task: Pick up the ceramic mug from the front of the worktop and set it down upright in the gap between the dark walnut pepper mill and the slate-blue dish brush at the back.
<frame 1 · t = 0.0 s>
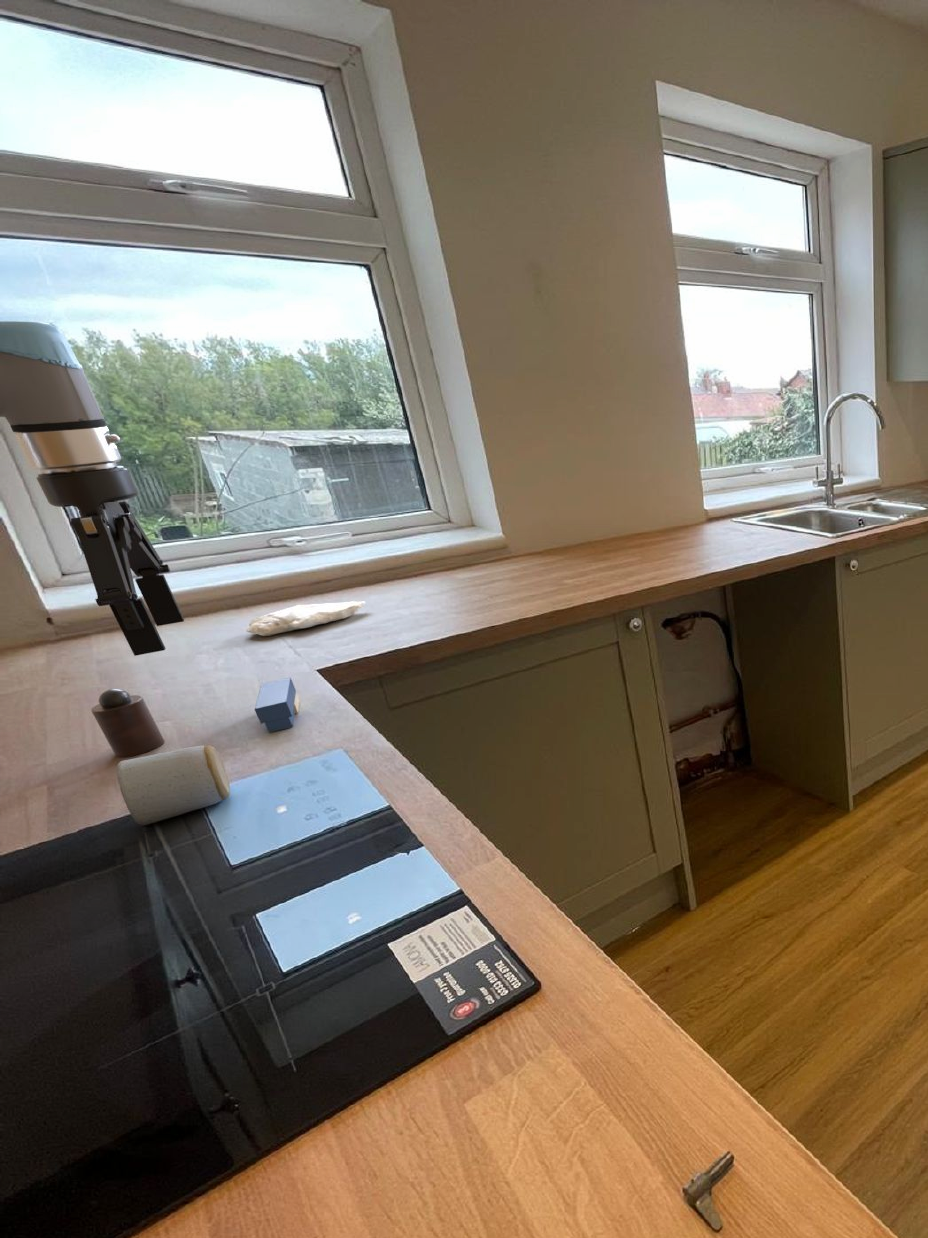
hand: (161, 637, 92), 16 cm above the worktop, tool pointing down, fingers open, 13 cm apart
rock: (311, 625, 147), on the worktop
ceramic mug: (188, 806, 86), on the worktop
pepper mill: (140, 748, 100), on the worktop
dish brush: (283, 716, 107), on the worktop
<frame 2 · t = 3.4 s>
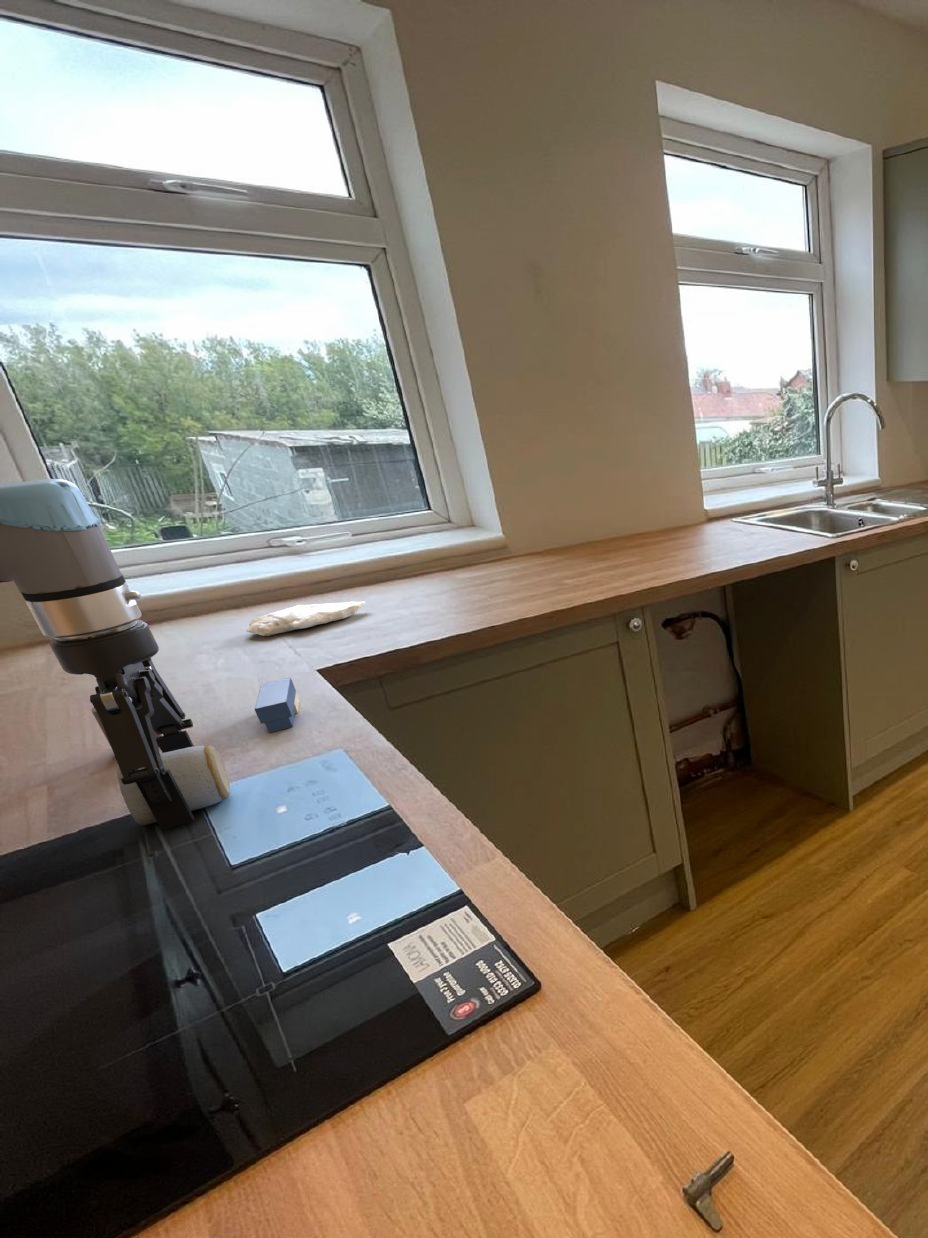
hand: (186, 801, 86), 1 cm above the worktop, tool pointing down, fingers closed on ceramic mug, 11 cm apart
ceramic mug: (188, 806, 86), on the worktop, touching gripper
everything else where it was.
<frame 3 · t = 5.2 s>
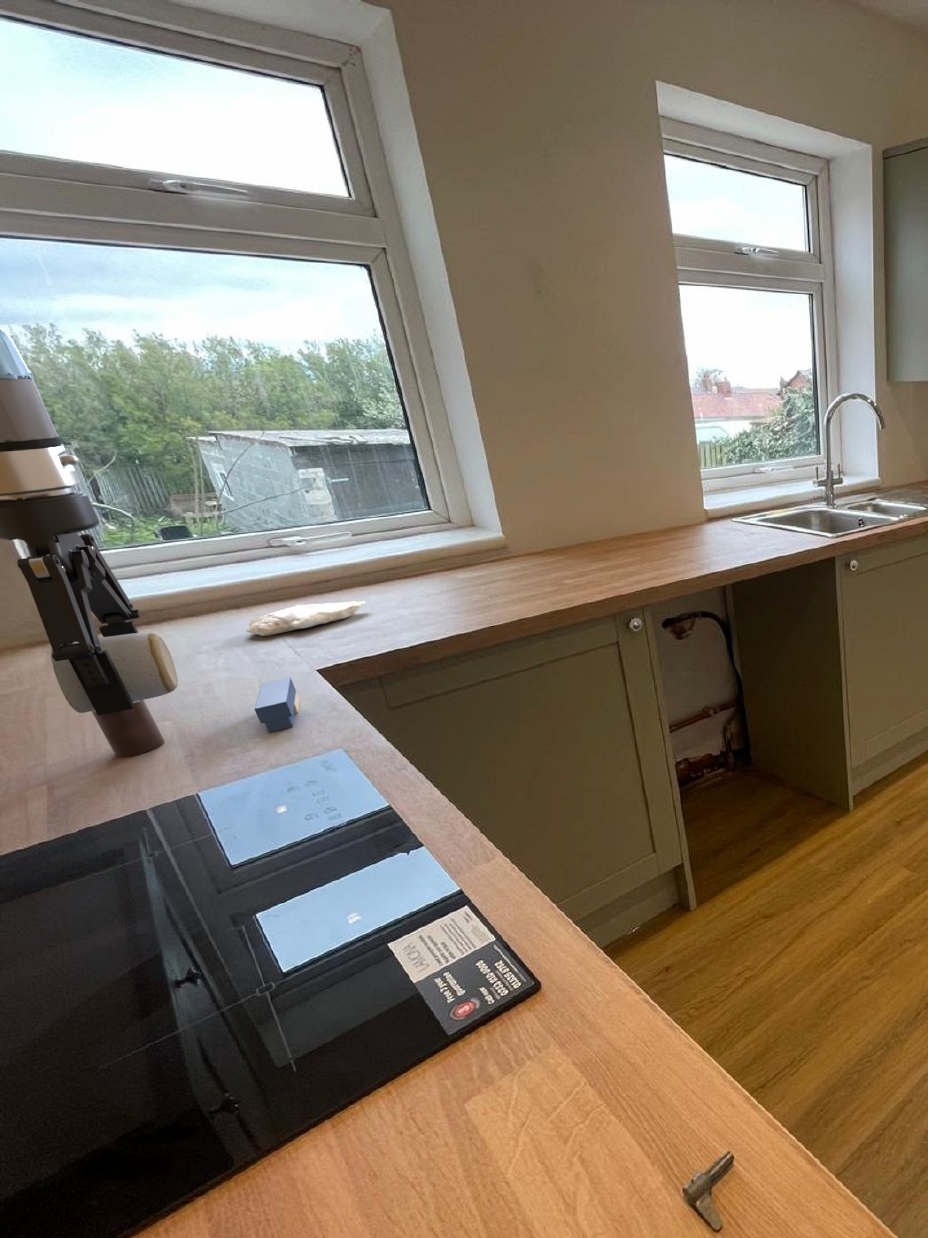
hand: (129, 692, 80), 15 cm above the worktop, tool pointing down, fingers closed on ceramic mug, 11 cm apart
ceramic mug: (131, 699, 80), point 14 cm above the worktop, touching gripper
everything else where it was.
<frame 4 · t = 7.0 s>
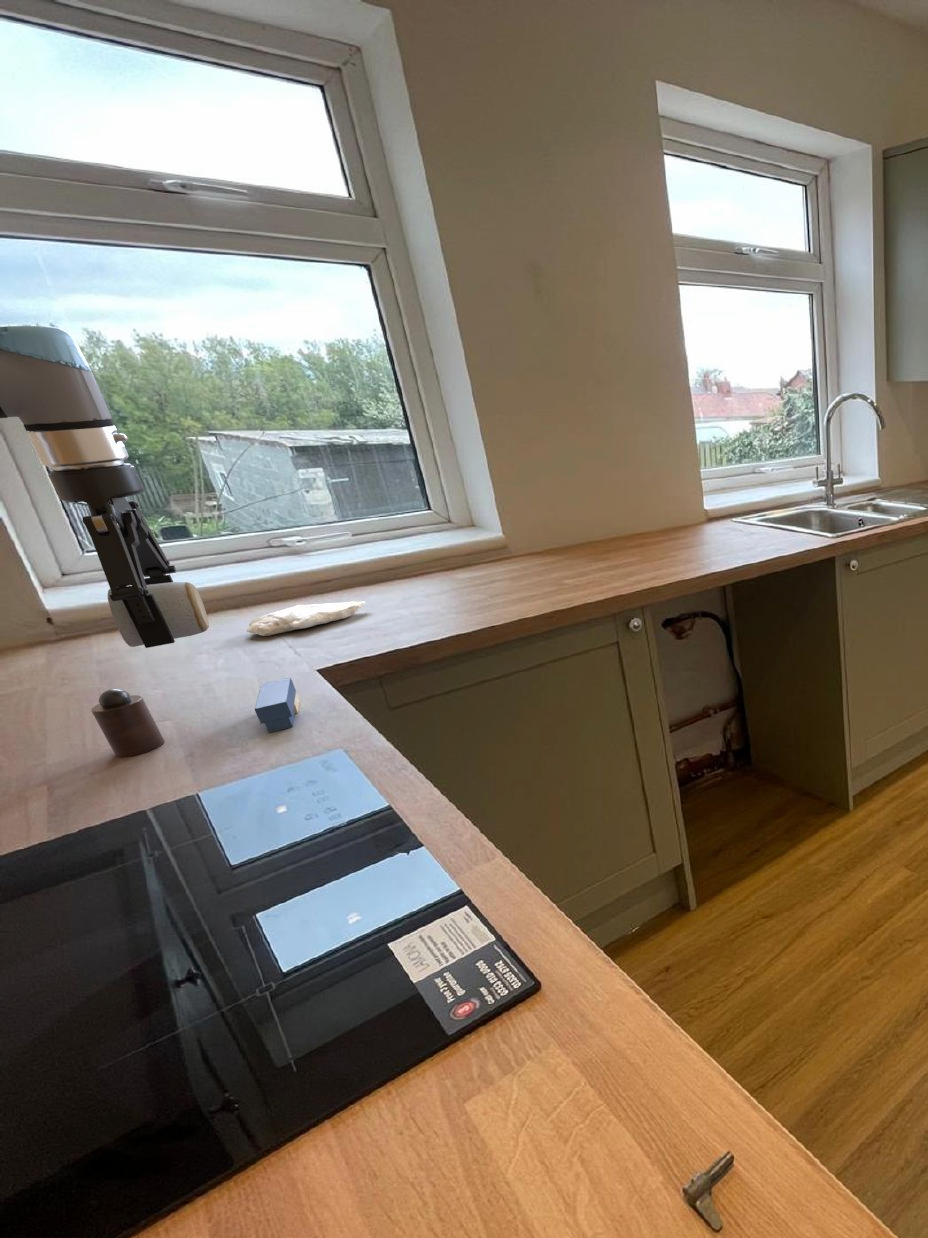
hand: (169, 632, 97), 16 cm above the worktop, tool pointing down, fingers closed on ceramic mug, 11 cm apart
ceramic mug: (171, 637, 97), point 15 cm above the worktop, touching gripper
everything else where it was.
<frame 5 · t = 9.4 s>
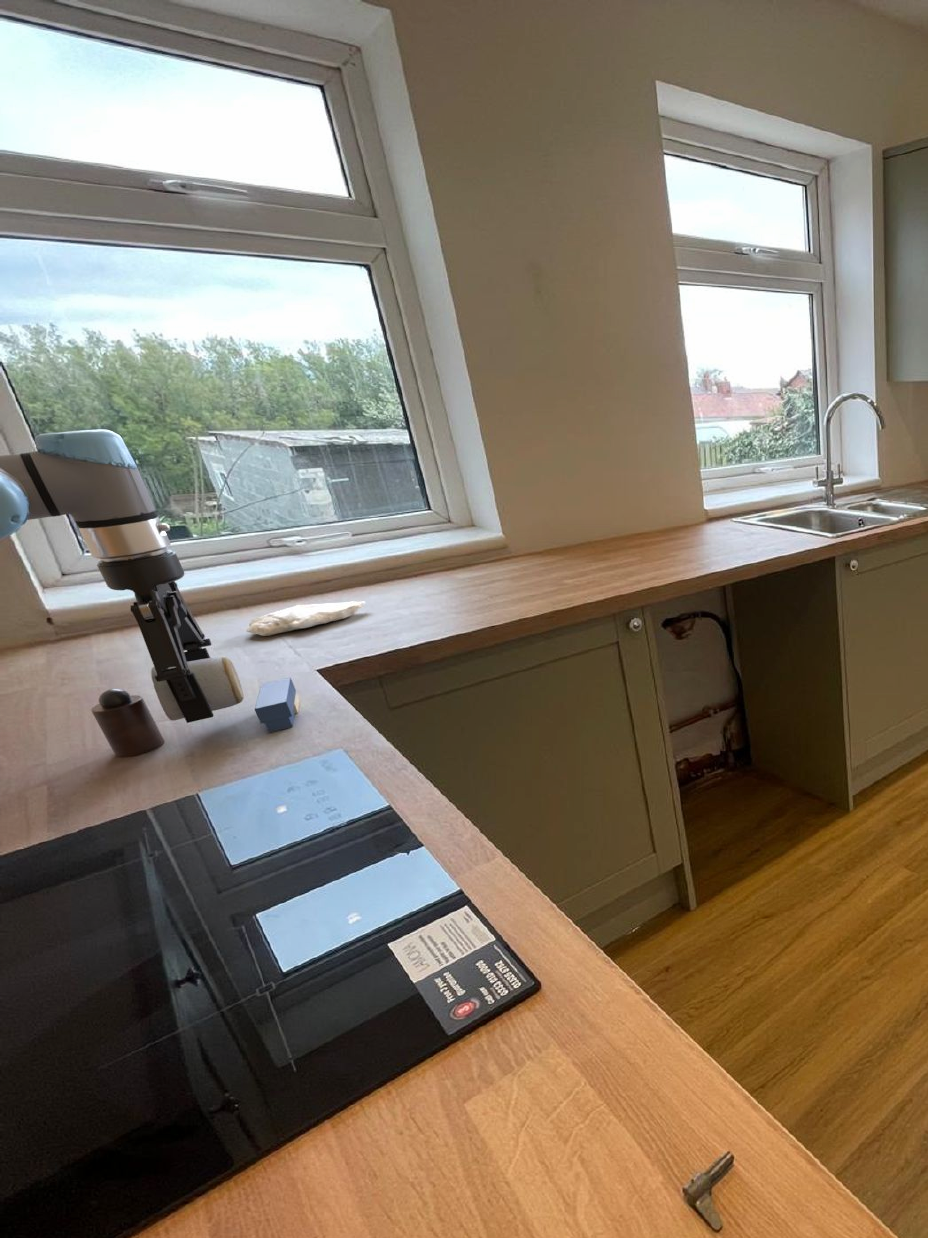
hand: (206, 704, 102), 4 cm above the worktop, tool pointing down, fingers closed on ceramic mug, 11 cm apart
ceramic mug: (208, 709, 103), point 3 cm above the worktop, touching gripper
everything else where it was.
when the fingers open (0 cm above the worktop, at t = 10.9 s): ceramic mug stays where it is, on the worktop.
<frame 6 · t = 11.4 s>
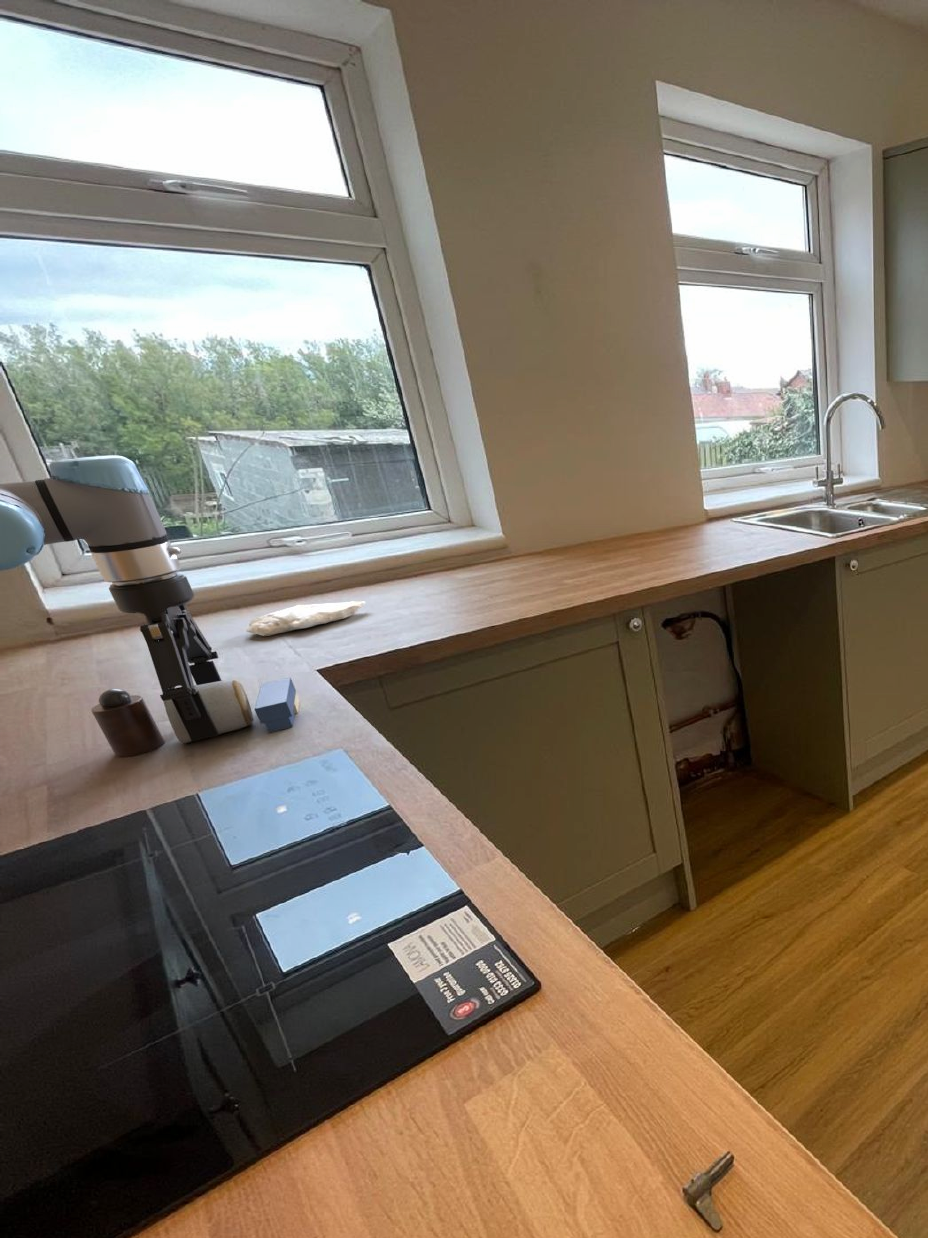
hand: (212, 719, 103), 2 cm above the worktop, tool pointing down, fingers open, 13 cm apart
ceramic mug: (218, 731, 104), on the worktop
everything else where it was.
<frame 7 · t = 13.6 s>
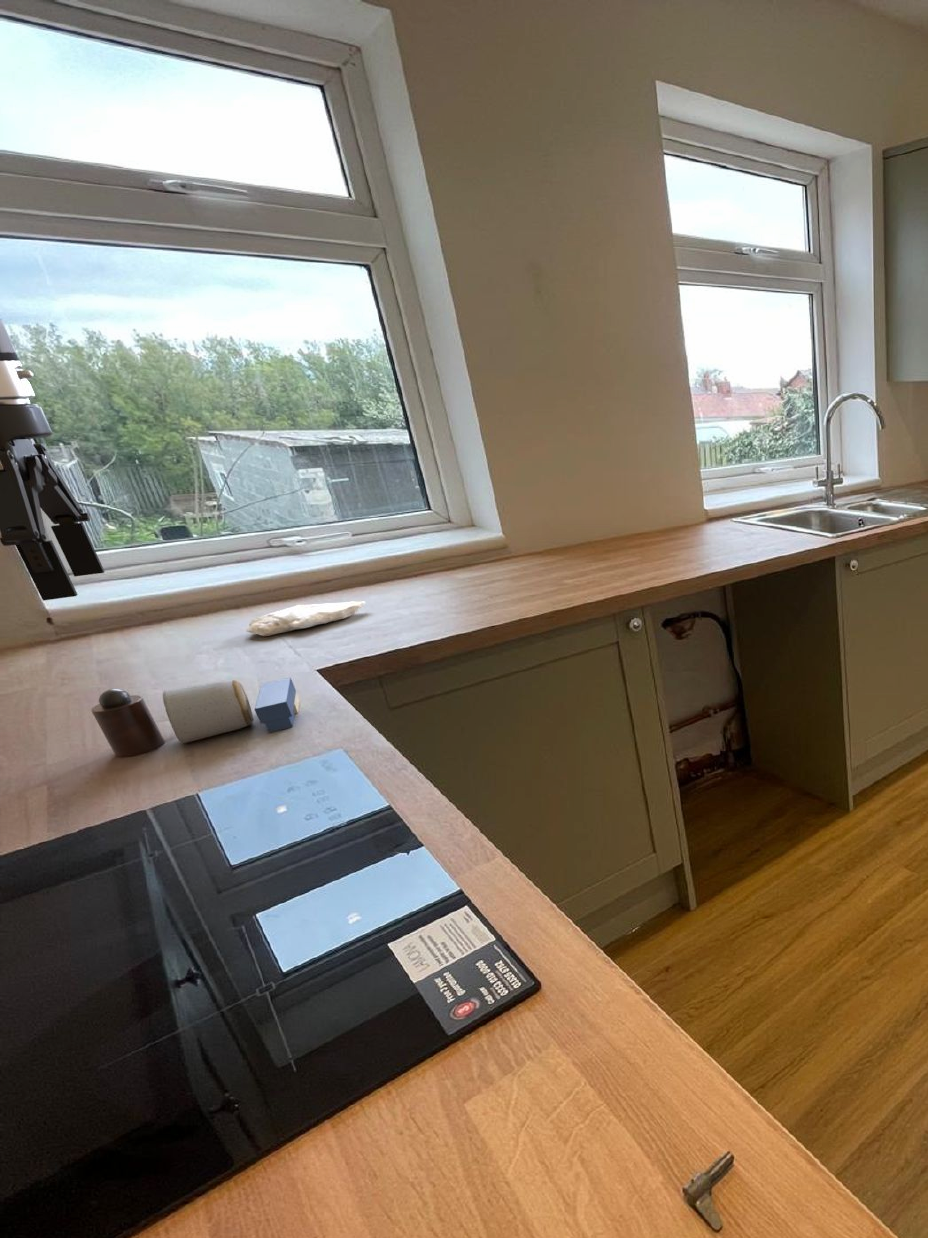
hand: (76, 585, 89), 24 cm above the worktop, tool pointing down, fingers open, 13 cm apart
nothing on the worktop moved.
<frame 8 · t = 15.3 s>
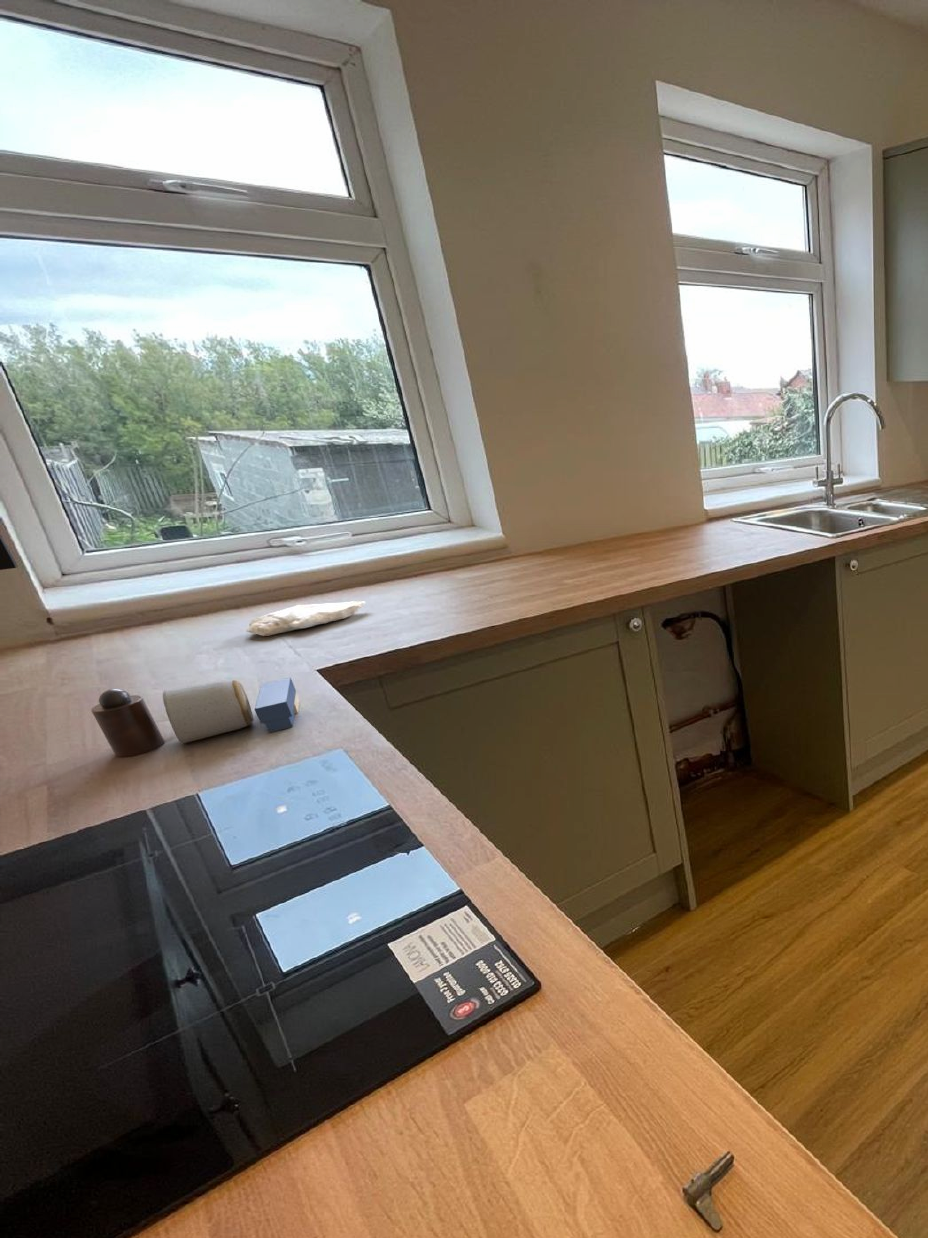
nothing on the worktop moved.
at the end: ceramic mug 0.2 cm from the target spot on the worktop beside the pepper mill, on the worktop; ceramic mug tilted 0°; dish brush moved 0.0 cm from its start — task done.
